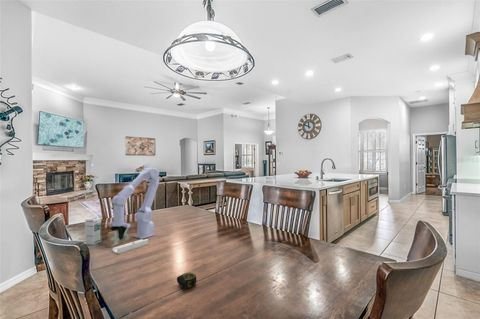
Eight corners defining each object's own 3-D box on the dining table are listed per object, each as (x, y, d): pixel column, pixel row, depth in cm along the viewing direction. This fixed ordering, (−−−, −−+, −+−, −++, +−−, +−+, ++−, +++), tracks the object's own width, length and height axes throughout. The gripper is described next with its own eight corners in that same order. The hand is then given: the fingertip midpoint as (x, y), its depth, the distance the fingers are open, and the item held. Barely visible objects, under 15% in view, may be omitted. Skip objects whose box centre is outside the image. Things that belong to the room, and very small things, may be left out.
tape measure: (176, 284, 93) (176, 275, 93) (192, 279, 97) (192, 270, 97) (182, 292, 87) (182, 282, 87) (199, 286, 91) (199, 277, 91)
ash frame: (126, 238, 146) (126, 226, 146) (129, 239, 145) (129, 226, 145) (107, 247, 132) (107, 232, 132) (111, 247, 132) (111, 233, 132)
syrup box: (93, 245, 135) (93, 219, 135) (85, 244, 136) (85, 219, 136) (101, 241, 141) (101, 217, 141) (93, 240, 142) (93, 216, 142)
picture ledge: (141, 242, 140) (141, 236, 140) (148, 244, 136) (148, 238, 136) (111, 251, 126) (111, 244, 126) (118, 254, 122) (118, 247, 122)
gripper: (103, 216, 137) (103, 239, 137) (123, 218, 133) (123, 242, 133) (113, 213, 144) (113, 235, 144) (132, 215, 140) (132, 238, 140)
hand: (119, 238), depth 139 cm, fingers closed on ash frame, 3 cm apart
